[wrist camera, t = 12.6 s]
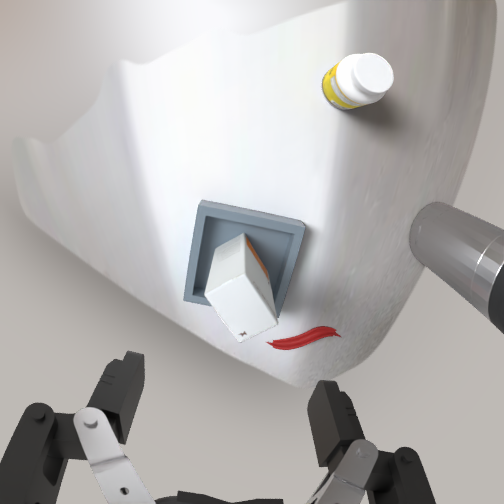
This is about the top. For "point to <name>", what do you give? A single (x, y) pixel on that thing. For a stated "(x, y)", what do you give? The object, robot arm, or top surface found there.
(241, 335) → the skincare box
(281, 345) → the cayenne pepper
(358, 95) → the supplement bottle
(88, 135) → the top surface
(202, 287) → the tray
